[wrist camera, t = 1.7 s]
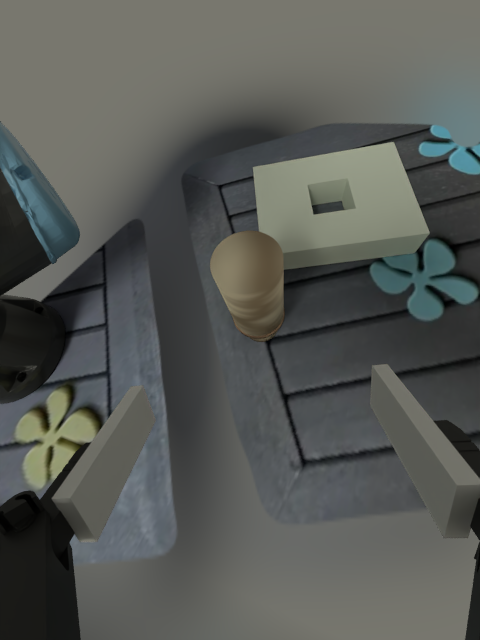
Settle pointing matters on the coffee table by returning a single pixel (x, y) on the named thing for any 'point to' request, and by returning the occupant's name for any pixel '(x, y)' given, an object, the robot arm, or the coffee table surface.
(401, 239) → the sage board
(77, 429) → the coffee table surface
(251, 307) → the tan wooden cylinder
